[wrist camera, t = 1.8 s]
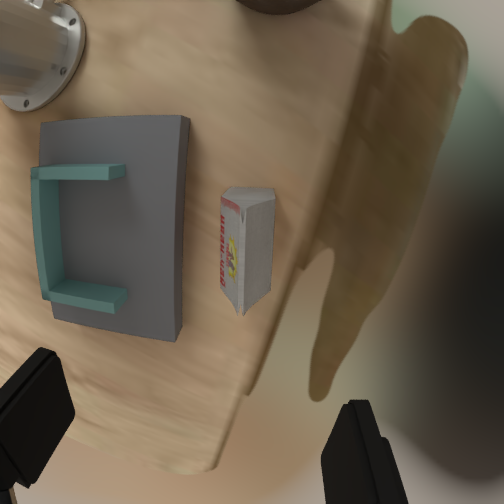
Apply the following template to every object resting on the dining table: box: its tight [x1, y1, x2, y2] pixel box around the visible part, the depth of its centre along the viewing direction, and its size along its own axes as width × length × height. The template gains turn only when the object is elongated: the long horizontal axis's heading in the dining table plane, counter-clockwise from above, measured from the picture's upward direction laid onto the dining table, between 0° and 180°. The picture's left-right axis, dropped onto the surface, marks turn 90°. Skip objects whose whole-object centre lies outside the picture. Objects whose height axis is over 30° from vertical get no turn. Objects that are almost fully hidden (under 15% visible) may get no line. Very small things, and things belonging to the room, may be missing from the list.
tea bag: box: [220, 187, 276, 316], centre depth 24 cm, size 4×7×10 cm, turn 178°
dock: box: [31, 115, 190, 342], centre depth 26 cm, size 20×14×6 cm
